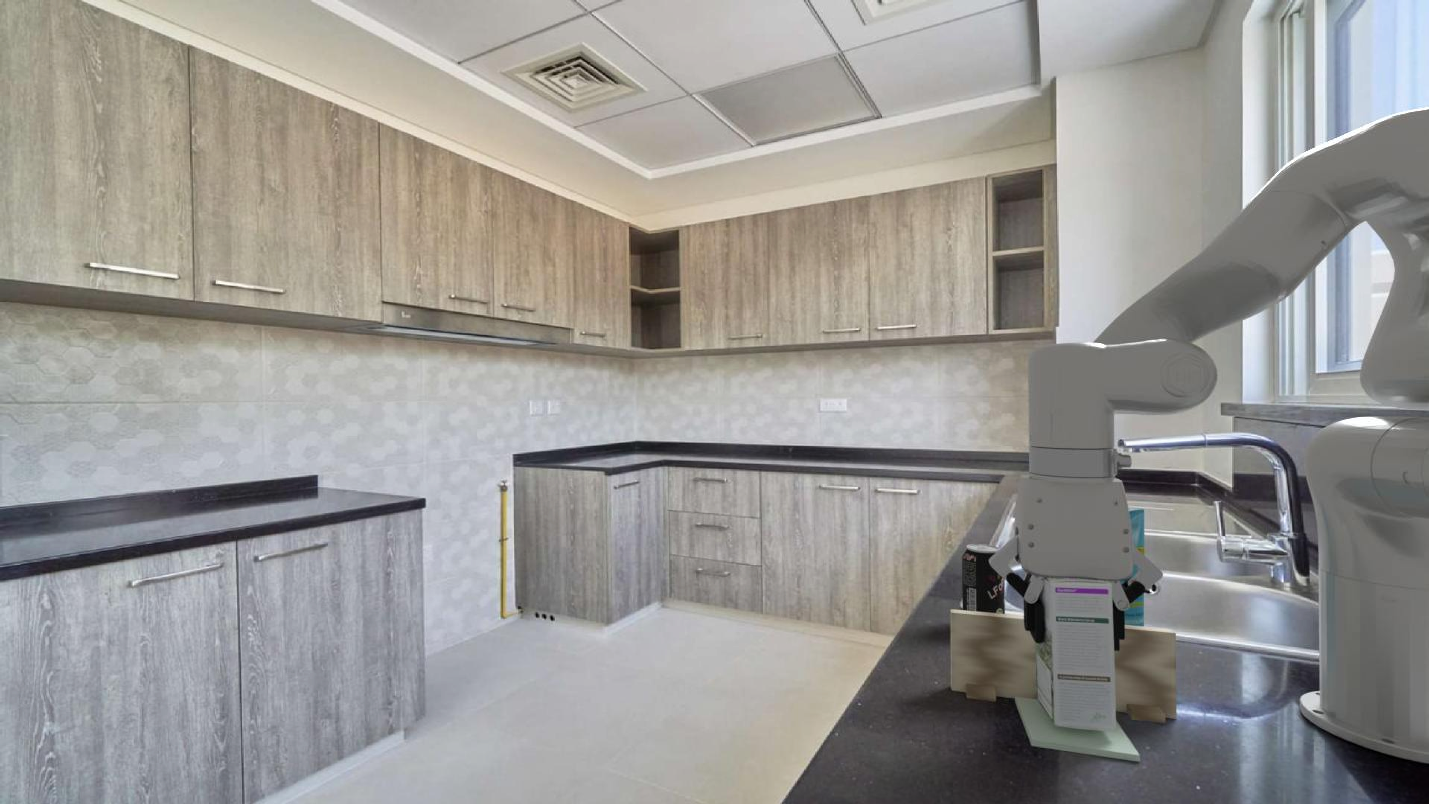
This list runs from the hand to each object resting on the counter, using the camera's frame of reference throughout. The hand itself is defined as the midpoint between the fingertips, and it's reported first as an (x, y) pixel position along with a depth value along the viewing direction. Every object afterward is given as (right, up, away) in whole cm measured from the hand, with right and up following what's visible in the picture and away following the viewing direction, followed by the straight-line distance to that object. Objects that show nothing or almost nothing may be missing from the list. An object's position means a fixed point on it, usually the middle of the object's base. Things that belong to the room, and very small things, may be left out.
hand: (1072, 640), depth 61 cm
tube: (+17, -9, +17) cm, 26 cm away
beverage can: (+3, -9, +28) cm, 29 cm away
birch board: (+2, -9, +6) cm, 11 cm away
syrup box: (0, -8, 0) cm, 8 cm away
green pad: (0, -9, 0) cm, 9 cm away
